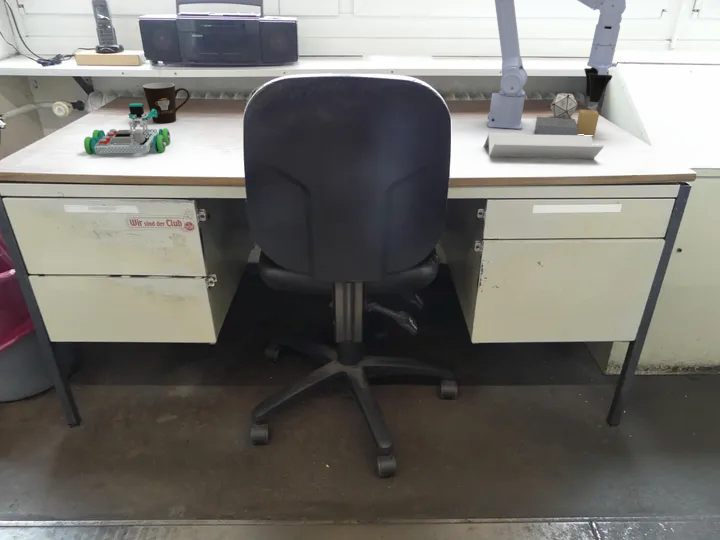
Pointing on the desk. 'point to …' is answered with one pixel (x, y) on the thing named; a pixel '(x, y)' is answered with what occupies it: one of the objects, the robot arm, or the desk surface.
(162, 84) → the coffee mug
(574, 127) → the charcoal stand
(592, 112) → the ochre block
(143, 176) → the desk surface
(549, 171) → the desk surface
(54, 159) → the desk surface
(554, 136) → the grey v-shaped trough
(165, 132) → the robot kit
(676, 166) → the desk surface
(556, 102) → the game die
